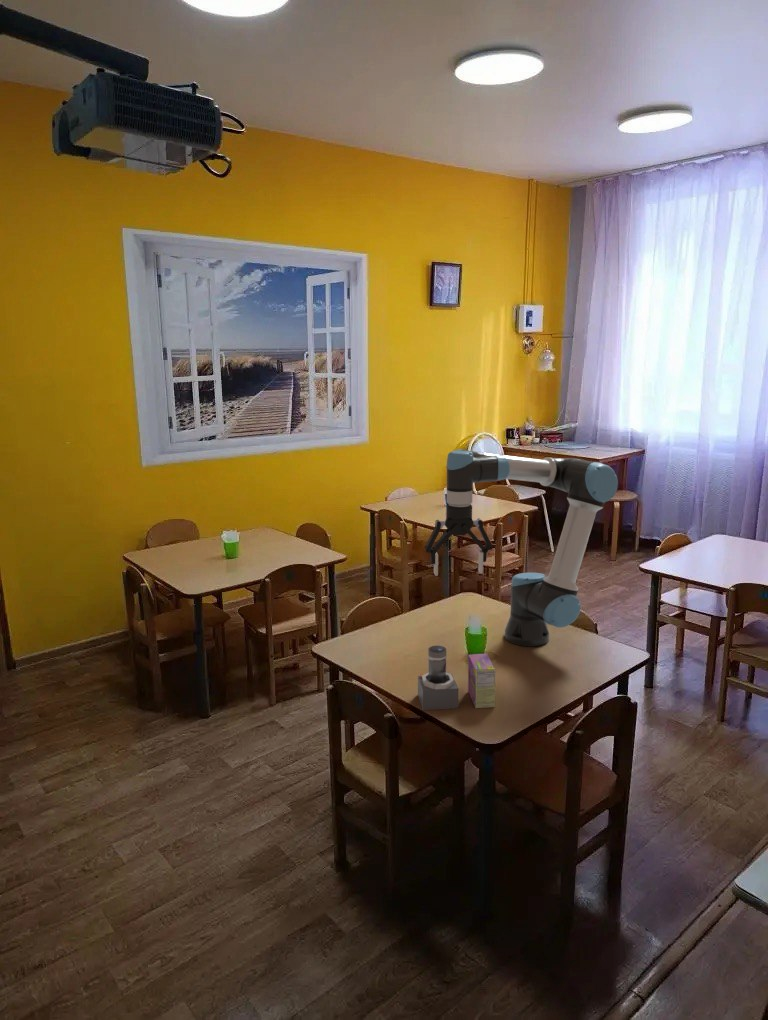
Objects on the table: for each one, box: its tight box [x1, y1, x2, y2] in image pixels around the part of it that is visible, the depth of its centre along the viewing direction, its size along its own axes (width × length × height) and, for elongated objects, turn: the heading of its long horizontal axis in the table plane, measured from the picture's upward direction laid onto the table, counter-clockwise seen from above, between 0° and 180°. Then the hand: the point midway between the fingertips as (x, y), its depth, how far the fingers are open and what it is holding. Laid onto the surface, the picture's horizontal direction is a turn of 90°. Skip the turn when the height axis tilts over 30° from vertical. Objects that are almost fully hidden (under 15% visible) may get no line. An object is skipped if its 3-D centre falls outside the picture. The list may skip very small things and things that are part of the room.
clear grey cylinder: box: [427, 645, 447, 684], centre depth 194 cm, size 5×5×10 cm
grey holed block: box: [417, 671, 459, 711], centre depth 196 cm, size 10×9×7 cm
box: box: [467, 653, 497, 709], centre depth 196 cm, size 10×6×12 cm, turn 5°
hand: (458, 573), depth 206 cm, fingers open, 13 cm apart
